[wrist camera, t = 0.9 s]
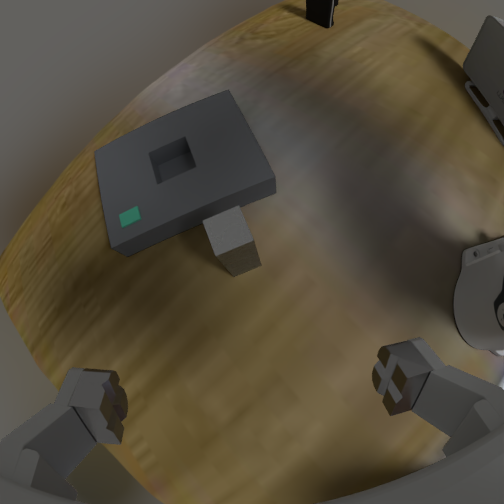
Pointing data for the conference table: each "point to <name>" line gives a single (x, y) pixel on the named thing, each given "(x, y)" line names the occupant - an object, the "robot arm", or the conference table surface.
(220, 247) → the peg
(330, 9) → the battery charger
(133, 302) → the conference table surface
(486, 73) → the network device
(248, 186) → the docking mount
